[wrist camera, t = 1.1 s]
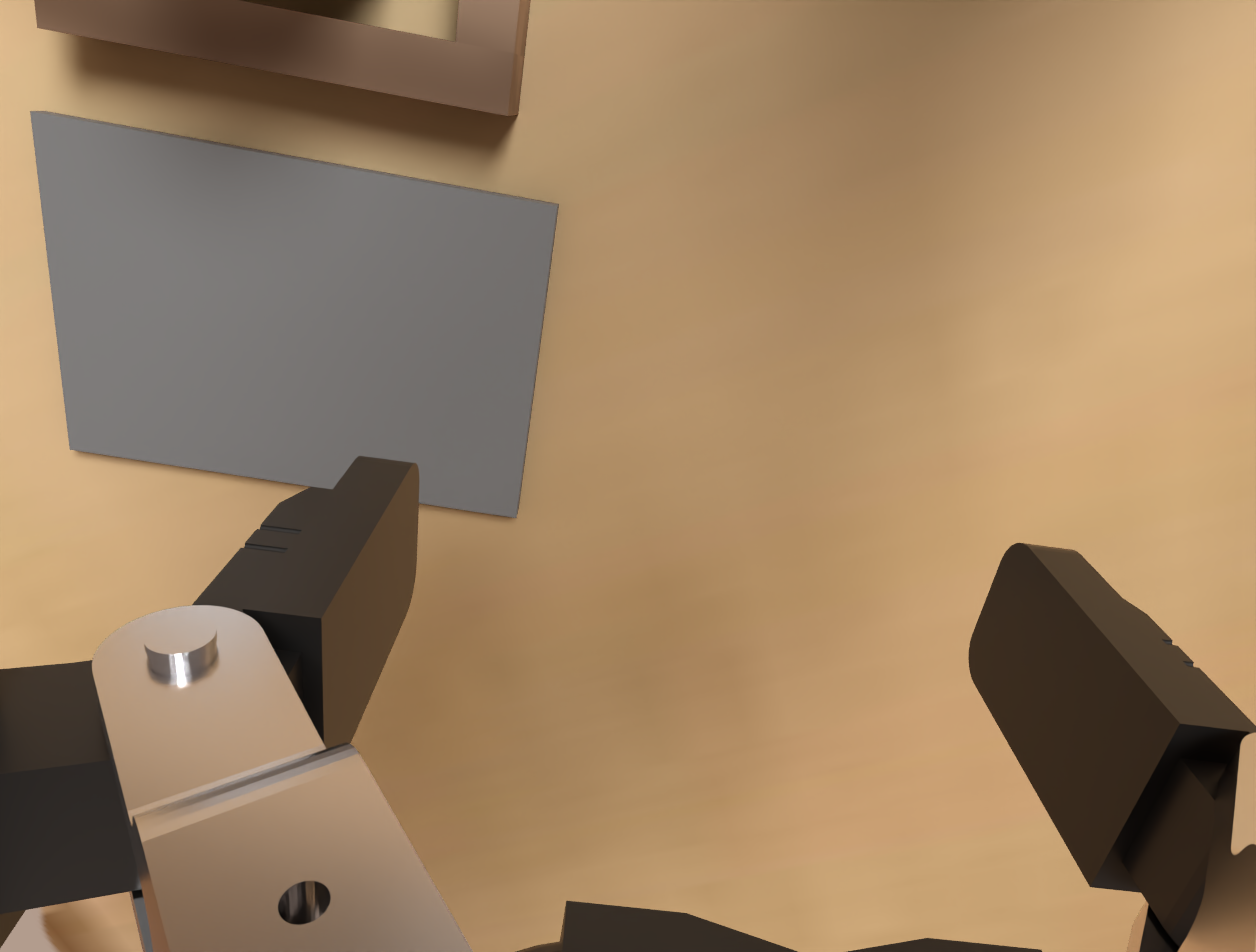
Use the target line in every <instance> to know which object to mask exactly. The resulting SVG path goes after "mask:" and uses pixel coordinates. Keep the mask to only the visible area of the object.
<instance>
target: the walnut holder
mask: <svg viewBox="0 0 1256 952" xmlns="http://www.w3.org/2000/svg"><path fill="white" fill-rule="evenodd" d="M34 1H35V10H36V19H37V28H41V29H46V30H51V31H57V32H62V33H67V34H73V35H78V36H83V37H89V38H94V39H99V40H105V41H110V42H115V43H121V44H126V45H131V46H137V47H142V48H147V49H153V50H158V51H163V52H169V53H174V54H179V55H185V56H190V57H195V58H201V59H206V60H211V61H217V62H222V63H227V64H233V65H238V66H243V67H249V68H254V69H259V70H265V71H270V72H275V73H281V74H286V75H291V76H297V77H302V78H307V79H313V80H318V81H323V82H329V83H334V84H339V85H345V86H350V87H355V88H361V89H366V90H371V91H377V92H382V93H387V94H393V95H398V96H403V97H409V98H414V99H419V100H425V101H430V102H435V103H441V104H446V105H451V106H457V107H462V108H467V109H473V110H478V111H483V112H489V113H494V114H499V115H505V116H512V115H518V111H519V102H520V92H521V83H522V74H523V65H524V56H525V46H526V37H527V28H528V19H529V9H530V0H459V6H458V19H457V32H456V42H453V41H448V40H443V39H438V38H432V37H427V36H422V35H417V34H412V33H407V32H401V31H396V30H391V29H386V28H381V27H375V26H370V25H365V24H360V23H355V22H350V21H344V20H339V19H334V18H329V17H324V16H318V15H313V14H308V13H303V12H298V11H293V10H287V9H282V8H277V7H272V6H267V5H261V4H256V3H251V2H246V1H241V0H34Z"/></svg>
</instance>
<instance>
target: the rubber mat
mask: <svg viewBox="0 0 1256 952" xmlns="http://www.w3.org/2000/svg"><path fill="white" fill-rule="evenodd" d="M30 113H31V122H32V130H33V139H34V147H35V156H36V164H37V173H38V181H39V190H40V198H41V207H42V216H43V224H44V233H45V241H46V250H47V258H48V267H49V275H50V284H51V293H52V301H53V310H54V318H55V327H56V335H57V344H58V352H59V361H60V369H61V378H62V387H63V395H64V404H65V412H66V421H67V429H68V438H69V446H70V450H76V451H82V452H89V453H95V454H102V455H108V456H115V457H121V458H128V459H134V460H141V461H148V462H154V463H161V464H167V465H174V466H180V467H187V468H193V469H200V470H206V471H213V472H219V473H226V474H232V475H239V476H245V477H252V478H258V479H265V480H271V481H278V482H284V483H291V484H297V485H304V486H310V487H318V488H326V489H333V488H334V487H335V485H336V484H337V483H338V481H339V480H340V479H341V477H342V476H343V475H344V473H345V472H346V471H347V469H348V468H349V467H350V465H351V464H352V463H353V461H354V460H355V459H356V458H357V457H358V456H366V457H373V458H381V459H389V460H396V461H404V462H412V463H416V464H417V465H418V469H419V503H421V504H428V505H434V506H441V507H447V508H454V509H460V510H467V511H473V512H480V513H486V514H493V515H499V516H506V517H512V518H516V517H517V513H518V509H519V501H520V494H521V486H522V479H523V471H524V463H525V456H526V448H527V441H528V433H529V426H530V418H531V411H532V403H533V396H534V388H535V381H536V373H537V365H538V358H539V350H540V343H541V335H542V328H543V320H544V313H545V305H546V298H547V290H548V283H549V275H550V267H551V260H552V252H553V245H554V237H555V230H556V222H557V215H558V207H559V204H555V203H550V202H544V201H539V200H533V199H528V198H522V197H517V196H511V195H506V194H500V193H495V192H489V191H484V190H478V189H473V188H467V187H461V186H456V185H450V184H445V183H439V182H434V181H428V180H423V179H417V178H412V177H406V176H401V175H395V174H390V173H384V172H379V171H373V170H367V169H362V168H356V167H351V166H345V165H340V164H334V163H329V162H323V161H318V160H312V159H307V158H301V157H296V156H290V155H285V154H279V153H273V152H268V151H262V150H257V149H251V148H246V147H240V146H235V145H229V144H224V143H218V142H213V141H207V140H202V139H196V138H191V137H185V136H179V135H174V134H168V133H163V132H157V131H152V130H146V129H141V128H135V127H130V126H124V125H119V124H113V123H108V122H102V121H97V120H91V119H85V118H80V117H74V116H69V115H63V114H58V113H52V112H47V111H30Z"/></svg>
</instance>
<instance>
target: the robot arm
mask: <svg viewBox="0 0 1256 952" xmlns="http://www.w3.org/2000/svg"><path fill="white" fill-rule="evenodd" d="M418 508H419V469H418V465H417V464H416V463H412V462H404V461H396V460H389V459H381V458H373V457H366V456H358V457H357V458H356V459H355V460H354V461H353V463H352V464H351V465H350V467H349V468H348V469H347V471H346V472H345V473H344V475H343V476H342V477H341V479H340V480H339V481H338V483H337V484H336V485H335V487H334V488H333V489H326V488H318V487H310V488H308V489H306V490H304V491H302V492H300V493H298V494H296V495H294V496H292V497H290V498H288V499H286V500H284V501H282V502H280V503H279V504H278V505H277V506H276V508H275V509H274V510H273V511H272V512H271V513H270V515H269V516H268V517H267V518H266V519H265V520H264V522H263V523H262V524H261V527H260V530H259V529H257V530H256V531H255V532H254V533H253V534H252V536H251V537H250V538H249V539H248V540H247V541H246V543H245V547H244V548H240V550H239V551H238V552H237V553H236V554H235V555H234V557H233V558H232V559H231V560H230V561H229V562H228V564H227V565H226V566H225V567H224V568H223V569H222V571H221V572H220V573H219V574H218V575H217V576H216V578H215V579H214V580H213V581H212V582H211V583H210V585H209V586H208V587H207V588H206V589H205V590H204V592H203V593H202V594H201V595H200V596H199V597H198V599H197V600H196V601H195V602H194V603H193V604H192V606H182V607H176V608H170V609H165V610H161V611H158V612H154V613H151V614H148V615H145V616H142V617H140V618H138V619H135V620H133V621H131V622H129V623H127V624H125V625H124V626H122V627H121V628H119V629H117V630H116V631H114V632H113V633H112V634H111V635H110V636H108V637H107V638H106V639H105V640H104V641H103V642H102V644H101V645H100V646H99V647H98V649H97V651H96V652H95V654H94V657H93V660H90V661H84V662H76V663H67V664H55V665H44V666H33V667H22V668H11V669H0V948H1V946H2V945H3V943H4V942H5V940H6V939H7V937H8V936H9V934H10V933H11V931H12V930H13V928H14V927H15V925H16V924H17V922H18V921H19V919H20V918H21V916H22V915H23V913H24V912H25V910H27V909H33V908H38V907H44V906H50V905H55V904H61V903H67V902H72V901H78V900H84V899H89V898H95V897H100V896H106V895H112V894H117V893H123V892H129V893H130V897H131V902H132V906H133V910H134V914H135V919H136V923H137V927H138V932H139V936H140V940H141V945H142V949H143V952H473V951H472V949H471V948H470V946H469V944H468V942H467V941H466V939H465V937H464V935H463V934H462V932H461V930H460V928H459V927H458V925H457V923H456V921H455V920H454V918H453V916H452V914H451V913H450V911H449V909H448V907H447V906H446V904H445V902H444V900H443V899H442V897H441V895H440V893H439V892H438V890H437V888H436V886H435V885H434V883H433V881H432V879H431V877H430V876H429V874H428V872H427V870H426V869H425V867H424V865H423V863H422V862H421V860H420V858H419V856H418V855H417V853H416V851H415V849H414V848H413V846H412V844H411V842H410V841H409V839H408V837H407V835H406V834H405V832H404V830H403V828H402V827H401V825H400V823H399V821H398V820H397V818H396V816H395V814H394V813H393V811H392V809H391V807H390V806H389V804H388V802H387V800H386V799H385V797H384V795H383V793H382V792H381V790H380V788H379V786H378V784H377V783H376V781H375V779H374V777H373V776H372V774H371V772H370V770H369V769H368V767H367V765H366V763H365V762H364V760H363V758H362V757H361V755H360V754H359V752H358V751H357V750H356V749H355V747H353V746H352V745H351V744H350V743H351V741H352V738H353V736H354V734H355V732H356V729H357V727H358V725H359V722H360V720H361V718H362V715H363V713H364V711H365V708H366V706H367V704H368V702H369V699H370V697H371V695H372V692H373V690H374V688H375V685H376V683H377V681H378V679H379V676H380V674H381V672H382V669H383V667H384V665H385V662H386V660H387V658H388V655H389V653H390V651H391V649H392V646H393V644H394V642H395V639H396V637H397V635H398V632H399V630H400V628H401V626H402V623H403V621H404V619H405V616H406V614H407V611H408V608H409V605H410V602H411V598H412V593H413V588H414V582H415V575H416V561H417V534H418ZM1193 663H1194V662H1193V661H1192V660H1191V659H1190V658H1189V657H1188V656H1187V655H1186V654H1185V653H1184V652H1183V651H1182V650H1181V649H1180V648H1179V647H1178V646H1175V645H1172V640H1171V638H1170V637H1169V636H1168V635H1167V634H1166V633H1165V632H1164V631H1163V630H1162V629H1161V628H1160V627H1159V626H1158V625H1157V624H1156V623H1155V622H1154V621H1153V620H1152V619H1151V618H1150V617H1149V616H1148V615H1147V614H1146V613H1144V612H1143V611H1141V610H1140V609H1138V608H1137V607H1135V606H1134V605H1132V604H1131V603H1129V602H1128V601H1126V600H1124V599H1123V598H1122V597H1121V596H1120V595H1119V594H1118V593H1117V592H1116V591H1115V590H1114V589H1113V588H1112V587H1111V586H1110V585H1109V584H1108V583H1107V582H1106V581H1105V579H1104V578H1103V577H1102V576H1101V575H1100V574H1099V573H1098V572H1097V571H1096V570H1095V569H1094V568H1093V567H1092V566H1091V565H1090V564H1089V563H1088V562H1087V561H1086V560H1085V559H1084V558H1083V556H1082V555H1081V554H1079V553H1078V552H1077V551H1074V550H1070V549H1062V548H1054V547H1047V546H1039V545H1031V544H1024V543H1016V544H1014V545H1012V546H1011V547H1010V548H1009V549H1008V550H1007V551H1006V552H1005V554H1004V556H1003V558H1002V560H1001V562H1000V565H999V567H998V570H997V573H996V575H995V578H994V580H993V583H992V585H991V588H990V591H989V593H988V596H987V598H986V601H985V603H984V606H983V609H982V611H981V614H980V616H979V619H978V621H977V624H976V627H975V629H974V632H973V634H972V637H971V641H970V647H969V668H970V673H971V677H972V680H973V682H974V684H975V686H976V688H977V689H978V691H979V693H980V695H981V696H982V698H983V700H984V702H985V703H986V705H987V707H988V709H989V710H990V712H991V714H992V716H993V718H994V719H995V721H996V723H997V725H998V726H999V728H1000V730H1001V732H1002V733H1003V735H1004V737H1005V739H1006V740H1007V742H1008V744H1009V746H1010V747H1011V749H1012V751H1013V753H1014V754H1015V756H1016V758H1017V760H1018V761H1019V763H1020V765H1021V767H1022V768H1023V770H1024V772H1025V774H1026V775H1027V777H1028V779H1029V781H1030V782H1031V784H1032V786H1033V788H1034V789H1035V791H1036V793H1037V795H1038V796H1039V798H1040V800H1041V802H1042V803H1043V805H1044V807H1045V809H1046V810H1047V812H1048V814H1049V816H1050V817H1051V819H1052V821H1053V823H1054V824H1055V826H1056V828H1057V830H1058V832H1059V833H1060V835H1061V837H1062V839H1063V840H1064V842H1065V844H1066V846H1067V847H1068V849H1069V851H1070V853H1071V854H1072V856H1073V858H1074V860H1075V861H1076V863H1077V865H1078V867H1079V868H1080V870H1081V872H1082V874H1083V875H1084V877H1085V879H1086V881H1087V882H1088V884H1089V886H1090V887H1095V888H1104V889H1113V890H1123V891H1132V892H1141V893H1142V894H1143V896H1144V898H1145V899H1146V902H1145V903H1144V905H1143V907H1142V908H1141V910H1140V912H1139V913H1138V915H1137V917H1136V918H1135V920H1134V923H1133V925H1132V929H1131V933H1130V938H1129V943H1128V947H1127V952H1256V726H1255V725H1254V724H1253V723H1252V722H1251V721H1250V720H1249V719H1248V718H1247V717H1246V716H1245V715H1244V713H1243V712H1242V711H1241V710H1240V709H1239V708H1238V707H1237V706H1236V705H1235V704H1234V703H1233V702H1232V701H1231V700H1230V699H1229V698H1228V697H1227V696H1226V695H1225V694H1224V693H1223V692H1222V691H1221V690H1220V689H1219V688H1218V687H1217V686H1216V685H1215V684H1214V683H1213V682H1212V681H1211V680H1210V679H1209V678H1208V677H1207V675H1206V674H1205V673H1204V672H1203V671H1202V670H1201V669H1200V668H1196V667H1193ZM516 952H797V951H794V950H792V949H789V948H786V947H783V946H780V945H777V944H774V943H771V942H768V941H765V940H762V939H760V938H757V937H754V936H751V935H748V934H745V933H742V932H739V931H736V930H733V929H730V928H728V927H725V926H722V925H719V924H716V923H713V922H710V921H707V920H704V919H701V918H698V917H696V916H693V915H690V914H687V913H680V912H670V911H660V910H650V909H641V908H631V907H621V906H612V905H602V904H592V903H583V902H573V901H566V907H565V913H564V919H563V925H562V932H561V938H560V942H555V943H549V944H543V945H537V946H533V947H530V948H527V949H523V950H520V951H516ZM848 952H1042V951H1041V950H1038V949H1028V948H1018V947H1009V946H999V945H989V944H980V943H970V942H960V941H951V940H941V939H931V938H925V939H919V940H913V941H907V942H901V943H895V944H889V945H883V946H878V947H872V948H866V949H860V950H854V951H848Z"/></svg>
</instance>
